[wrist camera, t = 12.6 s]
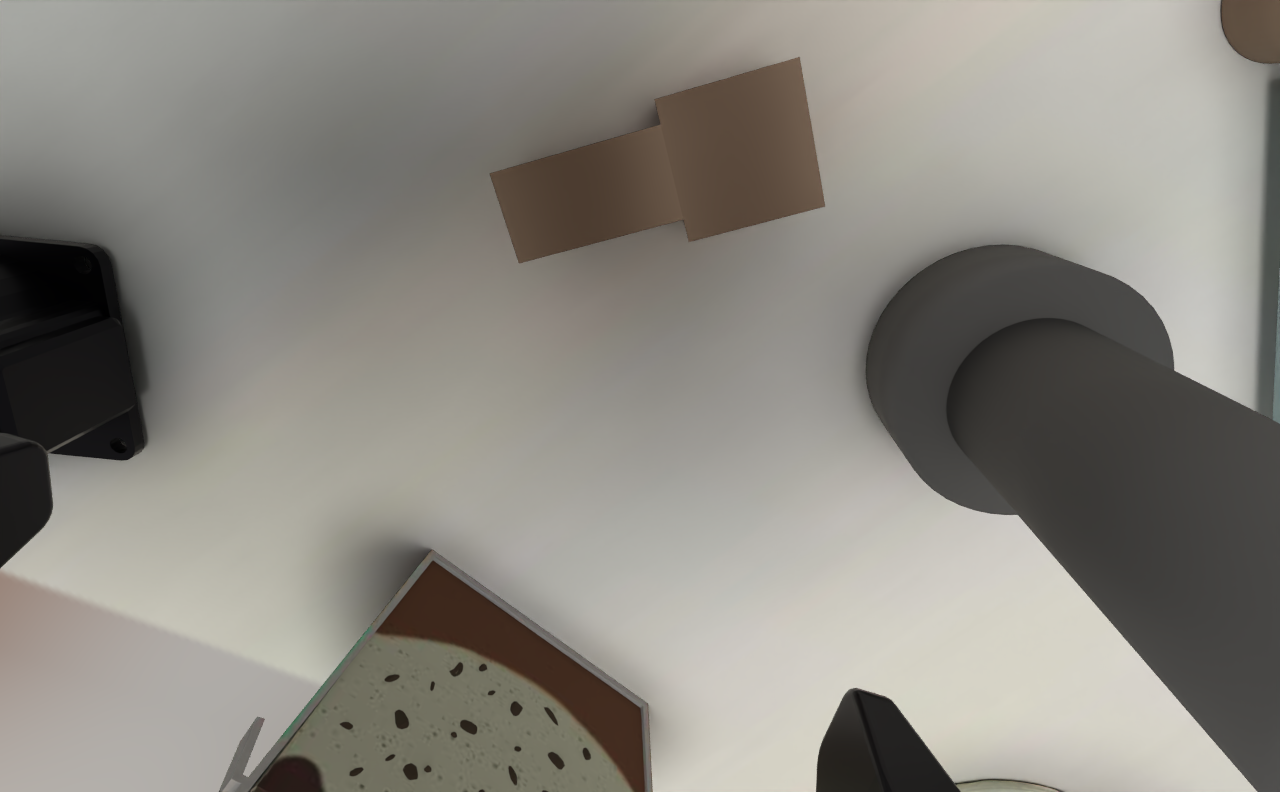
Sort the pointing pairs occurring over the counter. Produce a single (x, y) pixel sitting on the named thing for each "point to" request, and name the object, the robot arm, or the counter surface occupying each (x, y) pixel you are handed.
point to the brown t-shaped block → (720, 158)
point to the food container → (457, 707)
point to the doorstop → (1101, 467)
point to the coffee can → (1002, 787)
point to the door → (1277, 367)
